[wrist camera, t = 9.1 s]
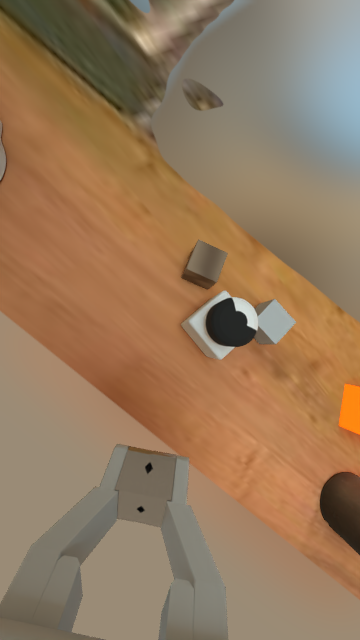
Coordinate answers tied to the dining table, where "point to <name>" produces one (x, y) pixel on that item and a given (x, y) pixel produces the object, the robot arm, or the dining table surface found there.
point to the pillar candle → (343, 507)
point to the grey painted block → (272, 322)
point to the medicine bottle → (222, 325)
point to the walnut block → (204, 265)
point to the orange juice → (350, 409)
